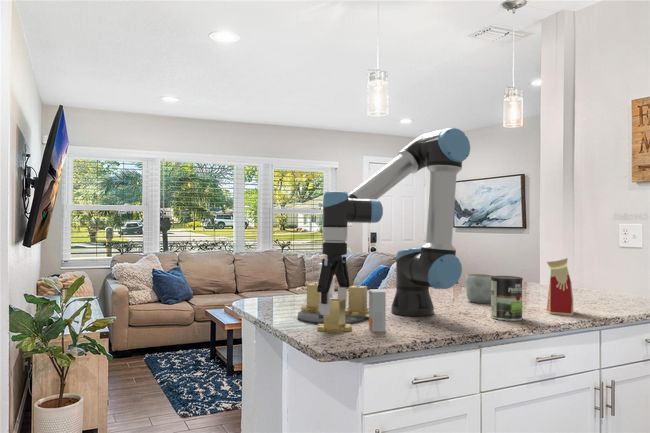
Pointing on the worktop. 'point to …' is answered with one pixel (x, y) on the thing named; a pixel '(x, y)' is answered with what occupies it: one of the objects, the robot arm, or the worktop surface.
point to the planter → (479, 287)
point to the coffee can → (506, 298)
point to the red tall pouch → (560, 289)
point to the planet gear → (335, 318)
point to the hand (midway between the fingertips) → (333, 311)
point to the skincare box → (377, 310)
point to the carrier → (352, 313)
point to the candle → (331, 283)
